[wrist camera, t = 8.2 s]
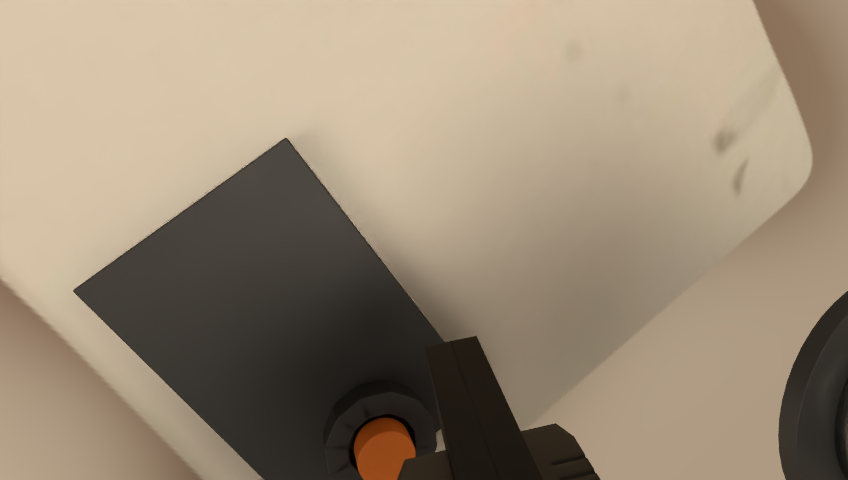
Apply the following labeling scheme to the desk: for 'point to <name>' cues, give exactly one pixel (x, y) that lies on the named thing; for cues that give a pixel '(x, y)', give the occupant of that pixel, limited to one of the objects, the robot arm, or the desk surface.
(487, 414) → the robot arm
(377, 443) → the button
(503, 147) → the desk surface
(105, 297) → the scale
